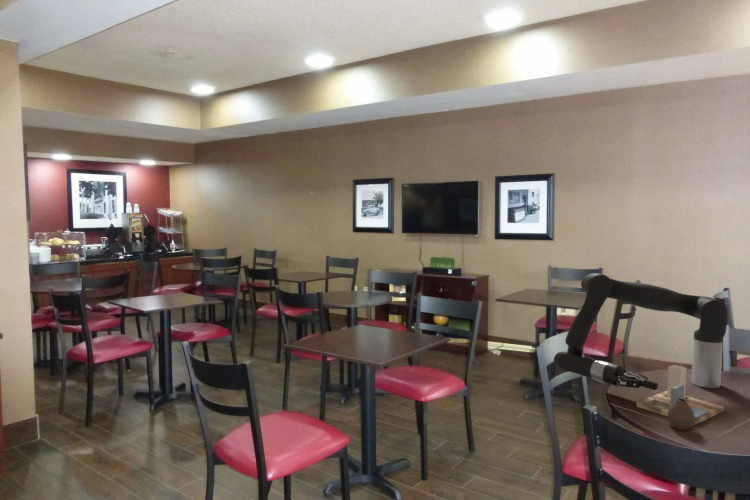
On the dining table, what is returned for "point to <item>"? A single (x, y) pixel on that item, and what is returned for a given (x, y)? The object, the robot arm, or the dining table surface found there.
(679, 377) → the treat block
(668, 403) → the puzzle board
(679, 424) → the vase
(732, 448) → the dining table surface
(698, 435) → the dining table surface
